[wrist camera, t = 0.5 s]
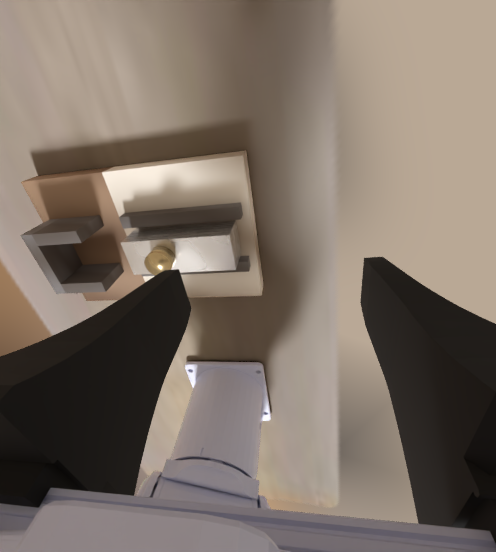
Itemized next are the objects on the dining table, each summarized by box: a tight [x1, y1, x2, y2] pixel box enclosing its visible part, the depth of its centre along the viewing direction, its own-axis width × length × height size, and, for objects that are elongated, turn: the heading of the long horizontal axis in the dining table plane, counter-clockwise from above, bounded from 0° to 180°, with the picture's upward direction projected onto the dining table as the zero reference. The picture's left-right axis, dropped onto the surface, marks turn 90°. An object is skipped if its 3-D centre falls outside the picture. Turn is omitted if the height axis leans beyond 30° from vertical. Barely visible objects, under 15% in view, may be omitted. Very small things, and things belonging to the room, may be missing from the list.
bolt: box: [121, 220, 241, 276], centre depth 18 cm, size 2×7×3 cm, turn 98°
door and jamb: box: [21, 151, 263, 301], centre depth 20 cm, size 10×15×4 cm, turn 98°
